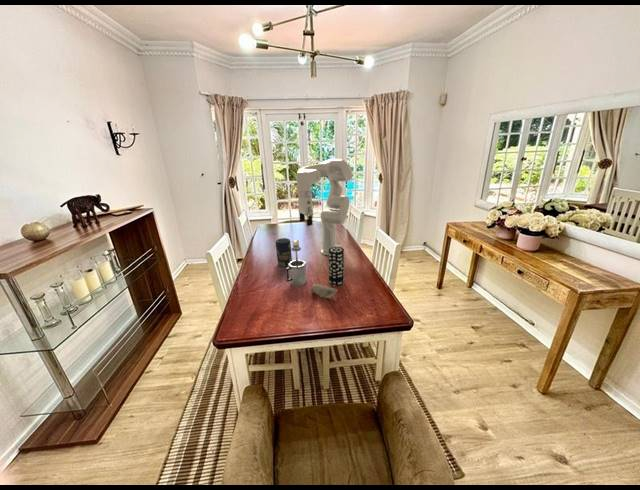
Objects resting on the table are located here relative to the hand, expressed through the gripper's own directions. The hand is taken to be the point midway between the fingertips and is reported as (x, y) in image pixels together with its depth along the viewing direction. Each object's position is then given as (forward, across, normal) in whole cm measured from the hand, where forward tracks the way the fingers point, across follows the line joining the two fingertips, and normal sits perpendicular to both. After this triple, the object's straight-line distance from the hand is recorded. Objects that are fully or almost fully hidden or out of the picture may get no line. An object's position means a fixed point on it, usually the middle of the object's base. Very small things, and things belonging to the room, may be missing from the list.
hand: (306, 223), depth 146 cm
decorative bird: (+30, -33, +7) cm, 45 cm away
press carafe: (+30, -12, +14) cm, 35 cm away
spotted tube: (+30, -23, -6) cm, 39 cm away
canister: (+30, +14, +10) cm, 35 cm away
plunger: (+20, -12, +12) cm, 27 cm away
